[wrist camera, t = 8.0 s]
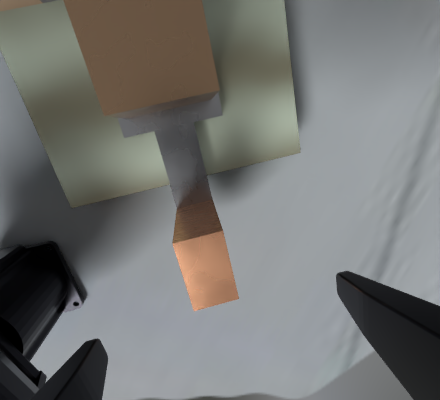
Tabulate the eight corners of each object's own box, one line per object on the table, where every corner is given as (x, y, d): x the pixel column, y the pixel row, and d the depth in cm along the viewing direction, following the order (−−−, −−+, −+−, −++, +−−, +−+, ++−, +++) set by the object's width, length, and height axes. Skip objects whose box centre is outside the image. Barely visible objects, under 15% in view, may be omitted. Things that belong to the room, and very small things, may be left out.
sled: (246, 239, 18) (272, 289, 13) (168, 260, 18) (159, 320, 12) (193, -18, 13) (198, -123, 8) (82, 3, 13) (3, -90, 7)
